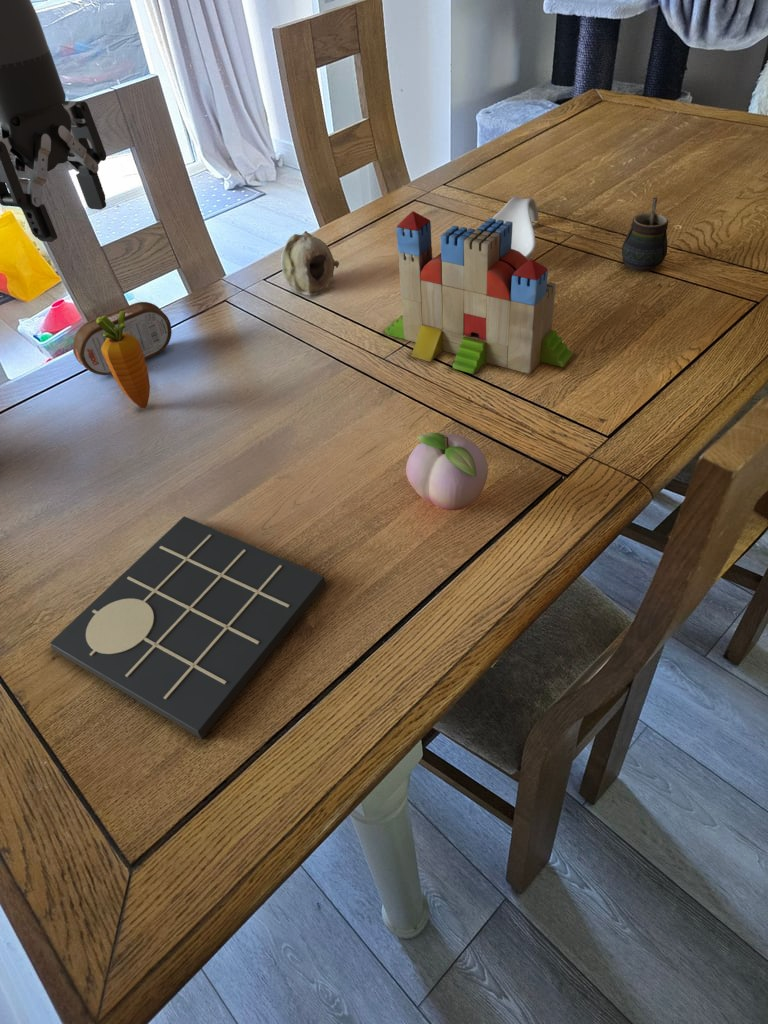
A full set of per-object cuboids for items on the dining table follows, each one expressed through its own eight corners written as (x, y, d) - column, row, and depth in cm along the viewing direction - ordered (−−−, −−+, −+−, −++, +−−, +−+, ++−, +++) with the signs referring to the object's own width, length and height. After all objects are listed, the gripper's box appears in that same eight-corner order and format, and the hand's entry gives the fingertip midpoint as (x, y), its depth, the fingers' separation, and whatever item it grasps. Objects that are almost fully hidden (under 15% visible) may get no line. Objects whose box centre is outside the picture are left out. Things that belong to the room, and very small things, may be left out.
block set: (581, 345, 103) (600, 214, 89) (541, 395, 95) (555, 259, 81) (419, 304, 115) (414, 183, 101) (371, 345, 107) (359, 220, 94)
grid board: (55, 651, 71) (48, 642, 69) (187, 524, 82) (183, 515, 81) (202, 739, 62) (197, 731, 61) (326, 585, 74) (324, 575, 73)
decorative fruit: (502, 500, 81) (507, 432, 74) (459, 541, 77) (460, 474, 70) (439, 468, 86) (438, 402, 79) (396, 505, 82) (390, 438, 75)
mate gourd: (620, 276, 117) (630, 216, 110) (617, 255, 122) (627, 197, 115) (665, 276, 115) (678, 216, 108) (661, 256, 120) (673, 196, 113)
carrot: (159, 394, 102) (124, 300, 91) (164, 412, 99) (128, 317, 88) (125, 403, 101) (86, 309, 90) (129, 422, 98) (89, 327, 87)
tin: (171, 339, 113) (155, 291, 107) (180, 347, 111) (165, 298, 105) (84, 378, 107) (62, 329, 101) (92, 386, 105) (70, 337, 99)
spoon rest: (524, 285, 117) (527, 243, 112) (457, 277, 121) (457, 237, 115) (555, 227, 132) (559, 188, 127) (495, 221, 136) (496, 183, 130)
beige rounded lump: (291, 306, 123) (261, 258, 116) (308, 276, 127) (280, 228, 120) (334, 297, 118) (306, 246, 111) (351, 266, 122) (324, 216, 116)
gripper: (27, 34, 71) (87, 196, 83) (-82, 72, 62) (2, 248, 73) (86, 34, 69) (139, 201, 80) (-18, 73, 60) (58, 255, 71)
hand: (73, 223), depth 77 cm, fingers open, 8 cm apart
